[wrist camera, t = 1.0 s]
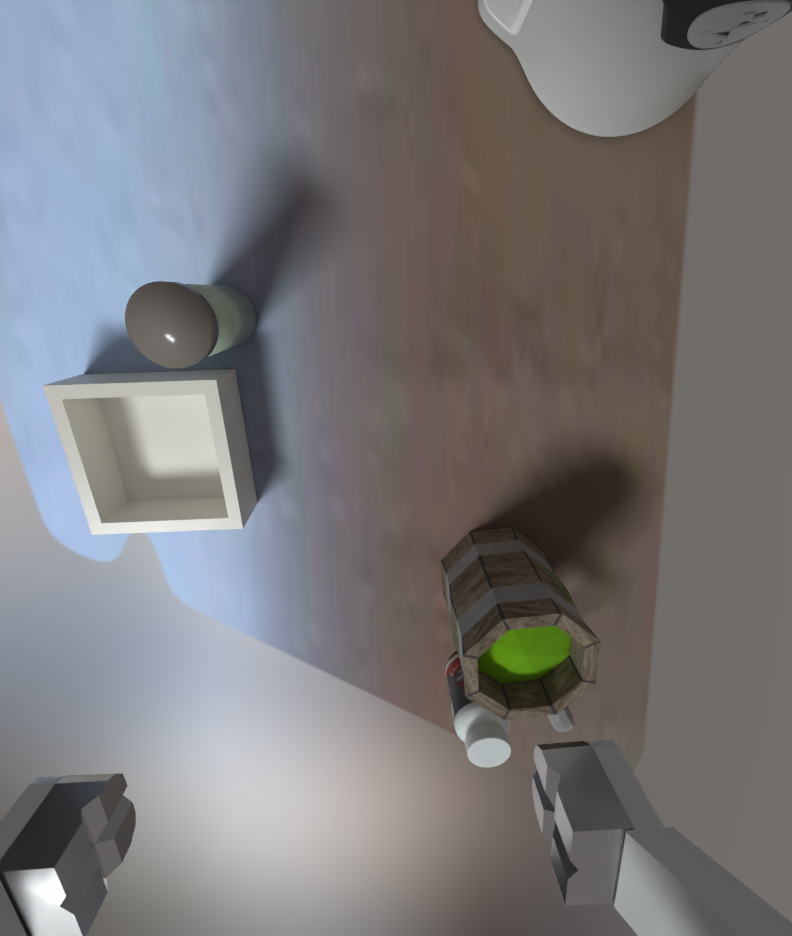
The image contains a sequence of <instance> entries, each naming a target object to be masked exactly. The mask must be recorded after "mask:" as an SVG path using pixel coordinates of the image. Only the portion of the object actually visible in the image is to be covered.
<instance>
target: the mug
mask: <svg viewBox="0 0 792 936" xmlns="http://www.w3.org/2000/svg"><path fill="white" fill-rule="evenodd" d="M441 568H442V582H443V595H444V598H445V600H446V602H447V605H448V608H449V612H450V617H451V622H452V632H453V640H454V642H455V645H456V648H457V651H458V654H459V657H460V661H461V666H462V670H463V675H464V686H465V697H466V698H468V699H470V700H471V701H473V702H475V703H476V704H478V705H480V706H481V707H483V708H485V709H486V710H488V711H490V712H491V713H493V714H495V715H496V716H498V717H500V718H501V719H503V720H509V719H518V718H528V717H538V716H548V718H549V720H550V722H551V724H552V725H553V727H554V728H555V730H557V731H559V732H566V731H569V730H570V729H572V728H573V727H574V724H575V722H574V720H573V718H572V715H571V713H570V711H569V708H568V705H569V704H570V703H572V702H573V701H574V700H575V699H577V698H578V697H579V696H581V695H582V694H583V693H584V692H586V691H587V690H588V689H589V688H591V687H592V686H593V685H595V684H596V679H597V669H598V659H599V649H600V640H599V639H598V638H597V637H596V636H595V634H594V633H593V632H592V631H591V630H590V628H589V627H588V626H587V625H586V624H585V622H584V620H583V619H582V617H581V616H580V614H579V612H578V611H577V609H576V607H575V605H574V603H573V601H572V599H571V597H570V595H569V592H568V590H567V589H566V587H565V586H564V585H563V584H562V582H561V581H560V580H559V579H558V577H557V576H556V575H555V574H554V572H553V570H552V569H551V567H550V566H549V564H548V562H547V560H546V557H545V555H544V552H543V550H542V549H541V548H539V547H538V546H537V545H536V544H534V543H533V542H532V541H530V540H529V539H528V538H526V537H525V536H524V535H523V534H521V533H520V532H519V531H517V530H516V529H515V528H514V527H509V528H500V529H490V530H481V531H471V532H469V533H468V534H467V535H466V536H465V537H464V538H463V539H462V540H461V541H460V542H459V543H458V544H457V545H456V546H455V547H454V548H453V549H452V550H451V551H450V552H449V553H448V554H447V555H446V556H445V557H444V558H443V559H442V560H441Z"/></svg>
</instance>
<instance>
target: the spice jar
mask: <svg viewBox="0 0 792 936" xmlns="http://www.w3.org/2000/svg"><path fill="white" fill-rule="evenodd" d="M125 322H126V328H127V331H128V334H129V336H130V339H131V340H132V342H133V344H134V345H135V347H136V348H137V349H138V350H139V351H140V353H141V354H143V355H144V356H145V357H146V358H147V359H149V360H150V361H152V362H154V363H155V364H158V365H160V366H163V367H167V368H175V369H178V368H185V367H189V366H191V365H194V364H196V363H199V362H201V361H203V360H204V359H206V358H207V357H209V356H211V355H214V354H217V353H219V352H222V351H224V350H227V349H229V348H232V347H234V346H237V345H239V344H242V343H244V342H245V341H247V340H248V339H249V338H250V337H251V335H252V334H253V332H254V330H255V327H256V313H255V309H254V307H253V304H252V303H251V301H250V300H249V298H248V297H247V296H246V295H245V294H244V293H243V292H241V291H240V290H238V289H236V288H234V287H231V286H226V285H194V284H181V283H177V282H160V281H159V282H152V283H148V284H146V285H143V286H142V287H140V288H138V289H137V290H136V291H135V292H134V293H133V295H132V296H131V297H130V299H129V301H128V304H127V307H126V312H125Z"/></svg>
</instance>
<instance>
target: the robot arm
mask: <svg viewBox="0 0 792 936" xmlns="http://www.w3.org/2000/svg"><path fill="white" fill-rule="evenodd" d="M478 8H479V12H480V15H481V17H482V19H483V21H484V22H485V24H486V25H487V26H488V27H489V28H490V29H491V30H492V31H493V32H494V33H495V34H496V35H497V36H498V37H499V38H500V39H502V40H503V41H504V42H505V43H506V44H507V45H509V46H510V47H511V48H512V49H513V51H514V52H515V54H516V55H517V57H518V59H519V61H520V63H521V65H522V67H523V70H524V72H525V74H526V76H527V78H528V80H529V83H530V84H531V86H532V88H533V90H534V91H535V93H536V95H537V96H538V98H539V99H540V100H541V102H542V103H543V104H544V105H545V106H546V108H547V109H548V110H549V111H550V112H551V113H552V114H553V115H554V116H555V117H557V118H558V119H559V120H561V121H562V122H563V123H565V124H566V125H568V126H570V127H572V128H574V129H576V130H578V131H581V132H583V133H587V134H590V135H595V136H603V137H615V136H624V135H629V134H633V133H637V132H640V131H643V130H645V129H647V128H650V127H652V126H654V125H656V124H658V123H659V122H661V121H663V120H664V119H666V118H667V117H669V116H670V115H671V114H673V113H674V112H675V111H677V110H678V109H679V108H680V107H681V106H682V105H684V104H685V103H686V102H687V101H688V100H689V99H690V98H691V97H692V96H693V95H694V93H695V92H696V91H697V90H698V89H699V88H700V86H701V85H702V84H703V83H704V81H705V80H706V79H707V78H708V77H709V76H710V74H711V73H712V72H713V71H714V70H715V69H716V68H717V67H718V66H719V65H720V63H721V62H722V61H723V60H724V59H725V58H726V57H727V56H728V55H729V54H730V53H731V52H732V51H733V50H734V49H735V48H736V47H737V46H739V45H740V44H741V43H742V42H743V41H744V40H745V39H746V38H747V37H749V36H751V35H753V34H754V33H756V32H758V31H760V30H762V29H763V28H765V27H767V26H768V25H770V24H772V23H773V22H775V21H777V20H778V19H780V18H781V17H783V16H785V15H786V14H788V13H789V12H791V11H792V0H478ZM534 761H535V764H536V767H537V772H536V773H535V774H534V775H533V780H532V781H533V782H532V791H533V798H534V806H535V810H536V814H537V818H538V822H539V825H540V828H541V831H542V834H543V835H544V836H545V837H546V838H547V839H548V840H549V841H550V842H551V843H552V852H551V863H552V866H553V869H554V872H555V875H556V878H557V881H558V884H559V887H560V890H561V893H562V896H563V900H564V902H565V905H589V904H614V907H615V909H616V910H617V911H618V912H619V913H620V914H621V915H622V917H623V918H624V919H625V920H626V922H627V923H628V924H629V925H630V926H631V927H632V929H633V930H634V931H635V932H636V933H637V935H638V936H792V922H790V921H789V920H788V919H786V918H785V917H784V916H783V915H781V914H780V913H779V912H778V911H777V910H775V909H774V908H773V907H772V906H770V905H769V904H768V903H767V902H765V901H764V900H763V899H762V898H760V897H759V896H758V895H757V894H756V893H754V892H753V891H751V889H749V888H748V887H747V886H746V885H744V884H743V883H742V882H741V881H739V880H738V879H737V878H736V877H734V876H733V875H732V874H731V873H729V872H728V871H727V870H726V869H724V868H723V867H722V866H721V865H720V864H718V863H717V862H716V861H715V860H713V859H712V858H711V857H710V856H708V855H707V854H706V853H705V852H703V851H702V850H701V849H700V848H699V847H697V846H696V845H695V844H694V843H692V842H691V841H690V840H689V839H687V838H686V837H685V836H683V835H682V834H681V833H680V832H678V831H677V830H676V829H675V828H665V826H664V825H663V823H662V821H661V820H660V818H659V816H658V815H657V812H656V811H655V809H654V807H653V806H652V804H651V802H650V800H649V799H648V797H647V795H646V794H645V792H644V790H643V788H642V786H641V785H640V783H639V781H638V780H637V778H636V776H635V774H634V773H633V771H632V769H631V767H630V766H629V764H628V762H627V760H626V759H625V757H624V755H623V754H622V752H621V750H620V748H619V747H618V745H617V744H616V743H615V742H614V741H613V740H601V741H587V742H585V741H578V742H566V743H554V744H542V745H536V747H535V749H534ZM126 787H127V784H126V781H125V778H124V776H123V774H97V775H69V776H51V777H39V778H38V779H36V780H35V781H34V782H32V783H31V784H30V785H29V786H28V787H27V788H26V789H25V791H24V792H23V793H22V794H21V796H20V797H19V798H18V800H17V801H16V802H15V803H14V805H13V806H12V807H11V808H10V810H9V811H8V812H7V814H6V815H5V816H4V818H3V819H2V820H1V821H0V936H86V935H87V933H88V931H89V929H90V927H91V925H92V923H93V921H94V919H95V917H96V915H97V913H98V911H99V909H100V907H101V905H102V903H103V901H104V899H105V897H106V895H107V892H108V890H107V877H108V876H109V874H111V873H112V872H113V871H114V870H115V869H116V868H117V867H118V866H119V865H120V864H121V863H122V862H123V859H124V857H125V855H126V853H127V851H128V849H129V847H130V845H131V841H132V836H133V833H134V829H135V825H136V824H135V821H136V818H135V816H136V815H135V809H134V805H133V803H132V802H131V801H130V800H129V799H127V798H126V797H125V796H123V793H124V791H125V789H126Z"/></svg>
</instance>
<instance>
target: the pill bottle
mask: <svg viewBox="0 0 792 936" xmlns="http://www.w3.org/2000/svg"><path fill="white" fill-rule="evenodd" d="M446 679H447V685H448V691H449V697H450V702H451V709H452V715H453V721H454V726H455V730H456V733H457V735H458V736H459V738H460V739H461V740H463V741H464V742H465V746H466V751H467V755H468V758H469V760H470V761H471V762H472V763H473V764H475V765H477V766H480V767H494V766H497V765H500V764H502V763H503V762H505V761H506V760H507V759H508V758H509V756H510V754H511V746H510V742H509V737H508V734H507V733H508V731H509V729H510V719H509V720H503V719H501V718H500V717H498V716H496V715H495V714H493V713H491V712H490V711H488V710H486V709H485V708H483V707H481V706H480V705H478V704H476V703H475V702H473V701H471V700H470V699H468V698H466V697H465V686H464V675H463V670H462V666H461V661H460V657H459V654H458V653H457V654H455V655H454V656H453V657H452V658H451V659H450V660H449V661H448V663H447V665H446Z"/></svg>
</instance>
